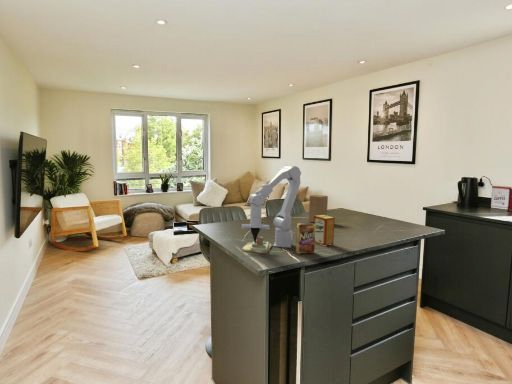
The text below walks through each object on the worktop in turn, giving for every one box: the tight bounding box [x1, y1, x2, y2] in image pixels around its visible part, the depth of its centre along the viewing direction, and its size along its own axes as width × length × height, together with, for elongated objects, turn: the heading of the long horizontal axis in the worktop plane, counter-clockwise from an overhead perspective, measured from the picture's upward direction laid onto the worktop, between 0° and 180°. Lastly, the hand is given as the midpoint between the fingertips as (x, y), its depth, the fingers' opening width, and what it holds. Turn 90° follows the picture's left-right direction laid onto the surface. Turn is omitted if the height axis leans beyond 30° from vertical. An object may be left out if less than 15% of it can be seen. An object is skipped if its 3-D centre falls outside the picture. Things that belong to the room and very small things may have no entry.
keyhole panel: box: [251, 236, 270, 251], centre depth 173 cm, size 8×13×5 cm, turn 174°
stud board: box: [240, 239, 273, 254], centre depth 173 cm, size 13×13×3 cm
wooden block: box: [308, 194, 329, 223], centre depth 244 cm, size 10×10×20 cm
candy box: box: [295, 222, 316, 255], centre depth 166 cm, size 9×4×15 cm, turn 93°
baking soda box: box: [314, 214, 335, 246], centre depth 185 cm, size 10×6×16 cm
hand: (255, 242), depth 173 cm, fingers closed
